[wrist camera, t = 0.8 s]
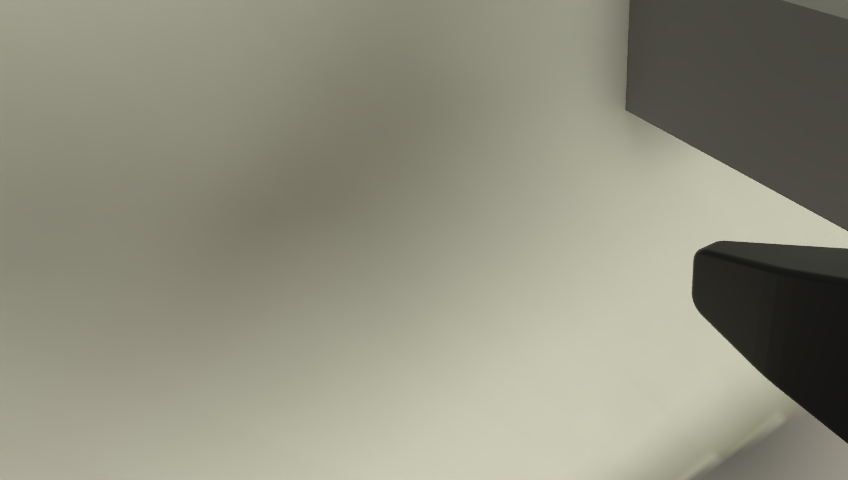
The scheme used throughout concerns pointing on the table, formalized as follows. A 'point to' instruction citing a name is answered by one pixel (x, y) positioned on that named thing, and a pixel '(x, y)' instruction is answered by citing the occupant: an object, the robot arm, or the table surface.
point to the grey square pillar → (750, 89)
